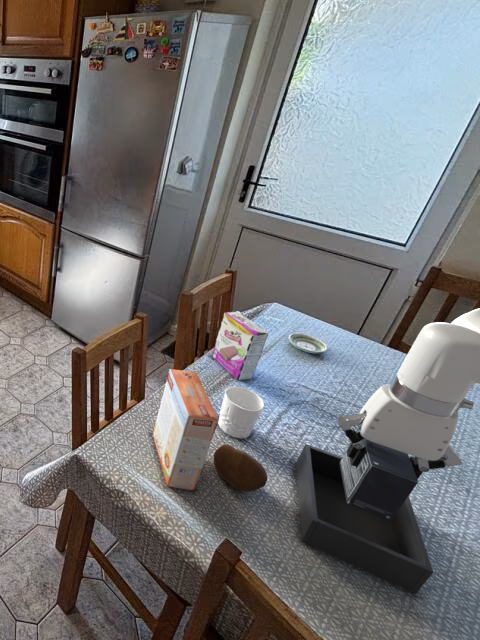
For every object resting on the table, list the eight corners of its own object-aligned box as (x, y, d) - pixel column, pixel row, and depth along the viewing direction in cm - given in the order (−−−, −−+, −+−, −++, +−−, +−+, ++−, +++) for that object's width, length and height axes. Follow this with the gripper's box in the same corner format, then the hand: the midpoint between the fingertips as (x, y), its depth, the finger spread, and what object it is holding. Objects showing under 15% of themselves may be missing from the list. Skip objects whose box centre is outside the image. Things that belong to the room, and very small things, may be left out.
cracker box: (196, 492, 87) (221, 419, 78) (165, 487, 88) (186, 415, 79) (178, 438, 99) (197, 370, 90) (151, 434, 100) (168, 367, 91)
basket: (388, 501, 84) (403, 479, 81) (414, 595, 69) (433, 572, 67) (295, 465, 92) (305, 443, 89) (300, 542, 77) (312, 519, 74)
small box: (394, 524, 71) (422, 484, 67) (345, 504, 75) (369, 465, 70) (381, 477, 79) (405, 438, 75) (338, 461, 83) (358, 423, 78)
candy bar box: (209, 357, 126) (223, 311, 119) (224, 355, 126) (238, 310, 119) (237, 382, 116) (253, 334, 109) (252, 380, 116) (270, 332, 109)
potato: (215, 456, 94) (224, 431, 91) (265, 485, 88) (276, 459, 84) (203, 476, 90) (212, 451, 86) (254, 508, 83) (266, 482, 80)
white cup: (258, 444, 97) (270, 412, 93) (221, 439, 98) (232, 408, 94) (243, 418, 104) (255, 388, 100) (210, 414, 105) (220, 384, 101)
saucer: (319, 343, 131) (322, 336, 130) (329, 361, 123) (332, 355, 122) (283, 336, 135) (285, 329, 134) (290, 353, 127) (292, 347, 126)
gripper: (492, 401, 65) (438, 477, 73) (350, 362, 74) (315, 434, 82) (513, 434, 60) (452, 512, 67) (357, 388, 68) (319, 462, 76)
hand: (378, 468), depth 74 cm, fingers closed on small box, 6 cm apart
